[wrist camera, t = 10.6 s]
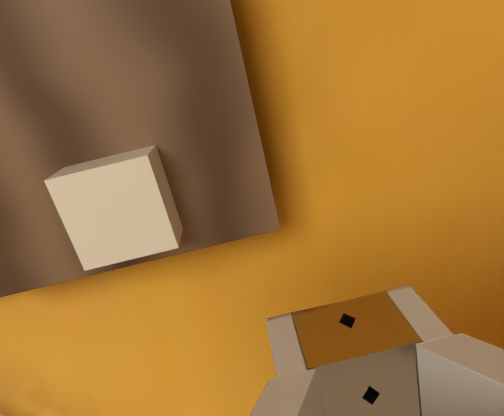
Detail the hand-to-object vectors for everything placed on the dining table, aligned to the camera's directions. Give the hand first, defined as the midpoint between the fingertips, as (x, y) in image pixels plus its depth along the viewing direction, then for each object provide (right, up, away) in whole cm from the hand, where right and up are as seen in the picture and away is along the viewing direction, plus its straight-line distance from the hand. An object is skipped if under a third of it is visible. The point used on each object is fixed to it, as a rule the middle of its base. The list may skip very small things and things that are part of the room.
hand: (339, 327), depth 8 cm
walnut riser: (-11, +8, +16) cm, 21 cm away
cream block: (-9, +3, +13) cm, 16 cm away
